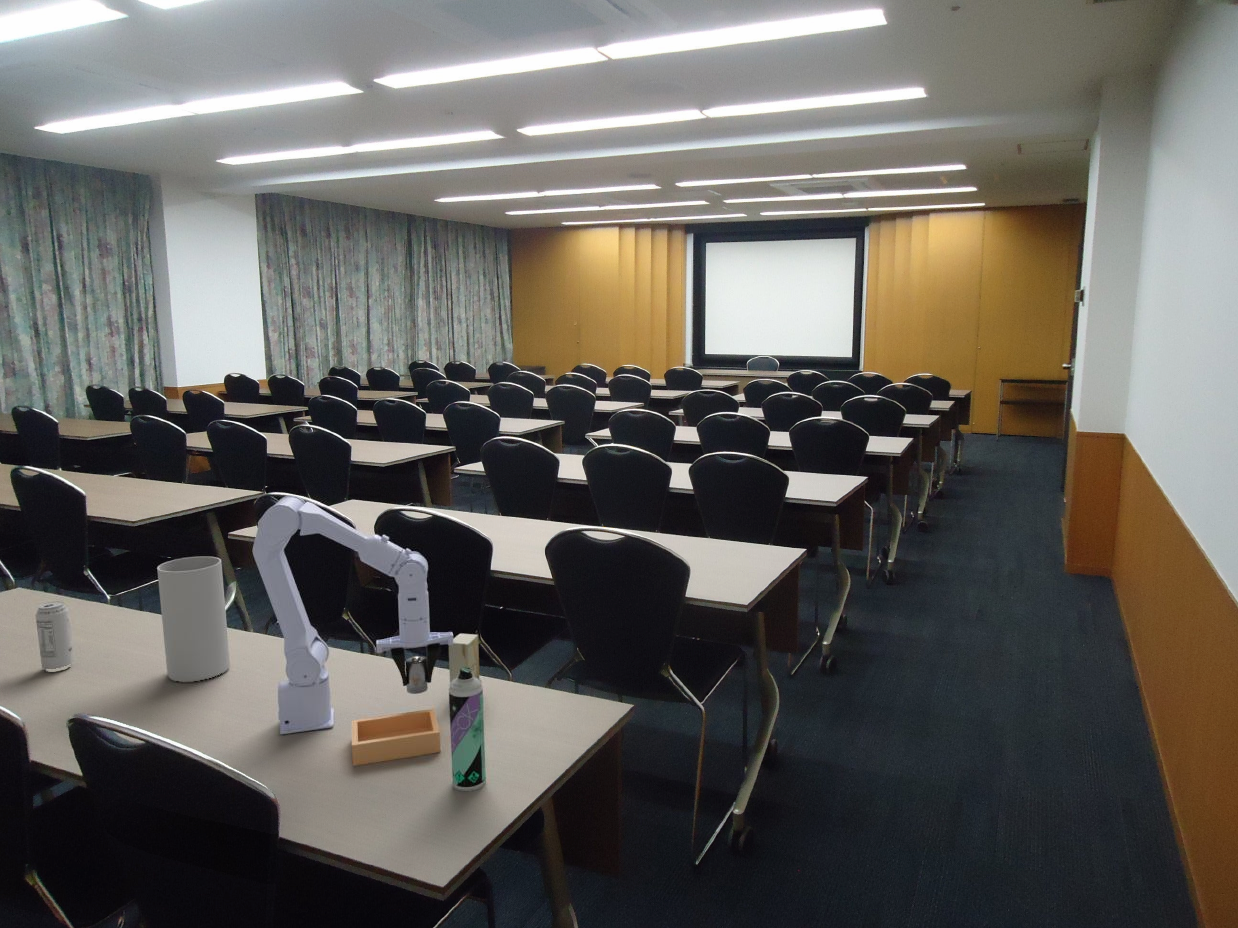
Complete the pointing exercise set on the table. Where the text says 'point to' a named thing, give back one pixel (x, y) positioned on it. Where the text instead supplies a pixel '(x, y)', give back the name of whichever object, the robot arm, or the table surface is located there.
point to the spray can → (467, 731)
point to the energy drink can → (54, 635)
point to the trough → (395, 736)
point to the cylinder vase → (193, 618)
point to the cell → (416, 675)
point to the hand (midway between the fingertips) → (416, 682)
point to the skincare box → (464, 655)
